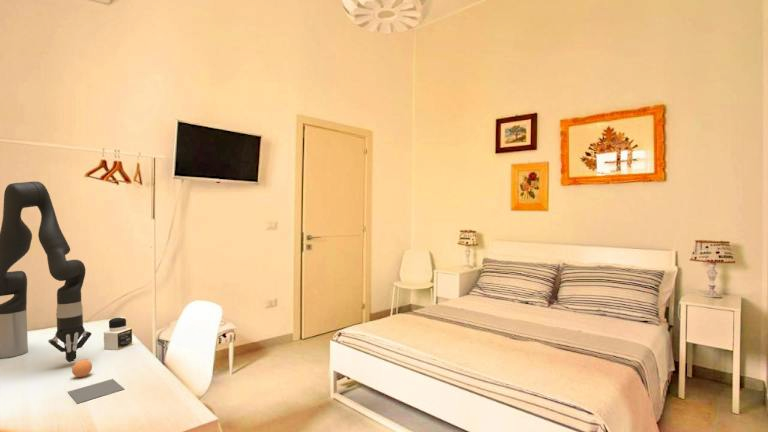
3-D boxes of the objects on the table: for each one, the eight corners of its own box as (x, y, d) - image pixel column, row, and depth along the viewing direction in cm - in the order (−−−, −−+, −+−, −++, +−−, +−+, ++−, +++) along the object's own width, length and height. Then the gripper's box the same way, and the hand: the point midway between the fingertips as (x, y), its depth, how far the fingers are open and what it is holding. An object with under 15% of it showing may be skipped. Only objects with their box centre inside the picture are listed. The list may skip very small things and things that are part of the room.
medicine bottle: (118, 350, 161) (117, 320, 161) (103, 349, 163) (102, 320, 163) (132, 344, 168) (131, 316, 168) (118, 343, 170) (117, 315, 170)
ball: (68, 376, 134) (68, 361, 134) (85, 369, 139) (86, 355, 139) (77, 382, 132) (78, 366, 132) (95, 375, 137) (96, 360, 137)
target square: (67, 392, 123) (67, 391, 123) (112, 379, 132) (112, 378, 132) (77, 403, 116) (77, 403, 116) (124, 389, 125) (124, 388, 125)
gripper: (49, 320, 138) (51, 369, 138) (94, 312, 149) (96, 357, 149) (43, 317, 143) (45, 364, 143) (87, 309, 153) (89, 353, 153)
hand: (71, 361), depth 146 cm, fingers closed
